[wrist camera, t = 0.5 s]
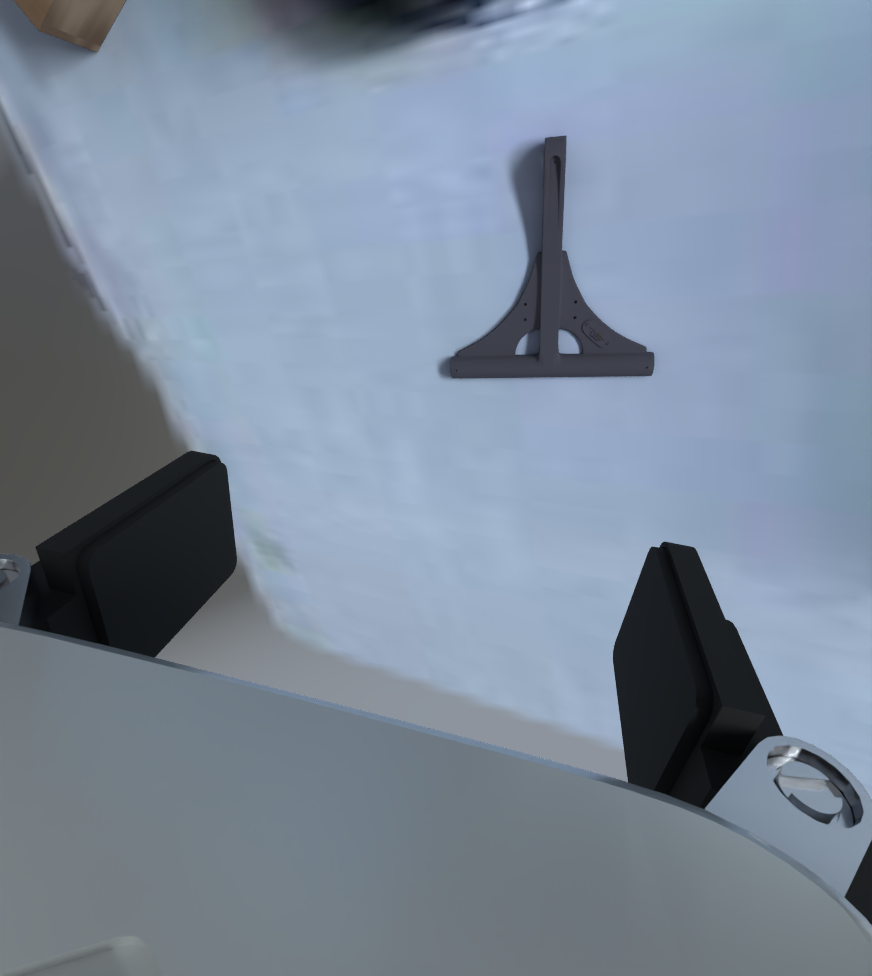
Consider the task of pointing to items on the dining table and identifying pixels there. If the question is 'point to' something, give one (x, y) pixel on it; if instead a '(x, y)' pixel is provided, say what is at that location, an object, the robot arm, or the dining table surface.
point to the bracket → (552, 311)
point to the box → (73, 19)
